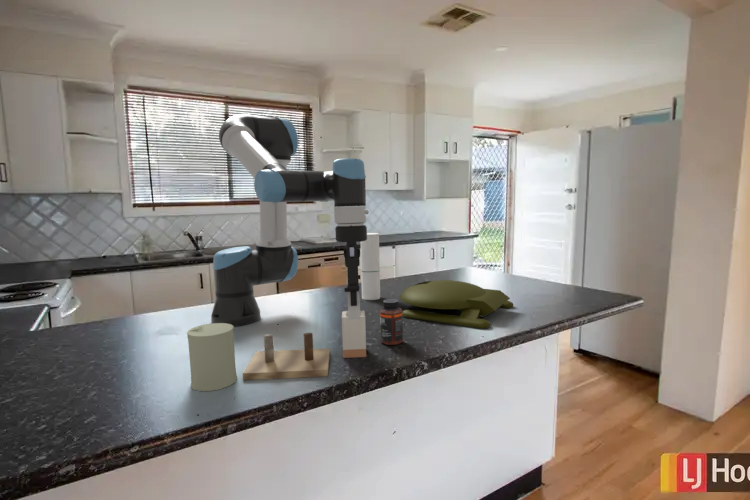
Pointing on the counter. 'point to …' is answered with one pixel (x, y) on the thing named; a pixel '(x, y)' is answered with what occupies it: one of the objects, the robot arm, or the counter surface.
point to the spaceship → (454, 302)
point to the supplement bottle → (391, 323)
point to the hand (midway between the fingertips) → (354, 311)
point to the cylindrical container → (370, 267)
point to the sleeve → (353, 336)
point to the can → (212, 356)
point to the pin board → (288, 361)
